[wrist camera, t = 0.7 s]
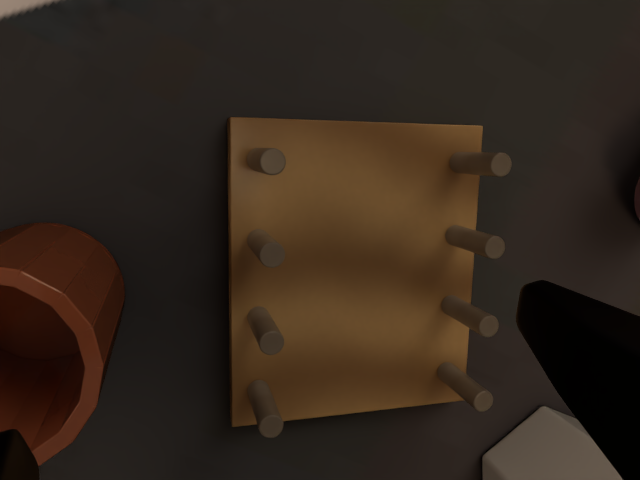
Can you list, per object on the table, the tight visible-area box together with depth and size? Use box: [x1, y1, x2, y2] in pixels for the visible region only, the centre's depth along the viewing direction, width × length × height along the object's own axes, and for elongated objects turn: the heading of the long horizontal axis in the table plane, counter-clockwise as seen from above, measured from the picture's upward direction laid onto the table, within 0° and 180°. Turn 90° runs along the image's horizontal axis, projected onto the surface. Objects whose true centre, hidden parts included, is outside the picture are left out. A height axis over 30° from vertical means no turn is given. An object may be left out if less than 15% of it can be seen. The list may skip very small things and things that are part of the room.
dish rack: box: [227, 117, 511, 438], centre depth 24 cm, size 14×12×4 cm
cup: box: [0, 223, 125, 467], centre depth 19 cm, size 6×6×8 cm
